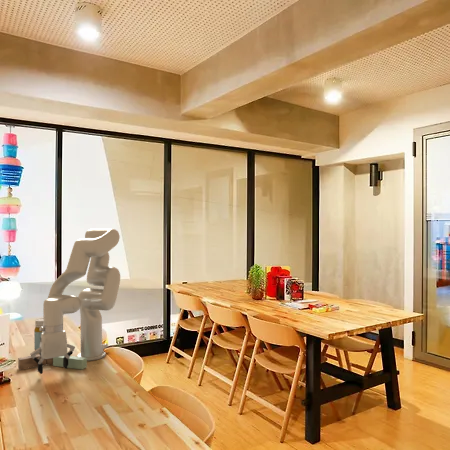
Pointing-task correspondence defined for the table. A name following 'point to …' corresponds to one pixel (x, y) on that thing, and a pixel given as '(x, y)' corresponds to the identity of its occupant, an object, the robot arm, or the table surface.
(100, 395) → the table surface
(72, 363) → the hinged leg
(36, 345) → the bottle
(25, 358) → the brown angled wooden piece
